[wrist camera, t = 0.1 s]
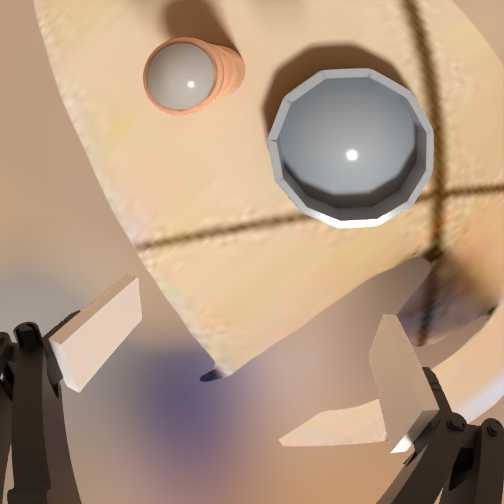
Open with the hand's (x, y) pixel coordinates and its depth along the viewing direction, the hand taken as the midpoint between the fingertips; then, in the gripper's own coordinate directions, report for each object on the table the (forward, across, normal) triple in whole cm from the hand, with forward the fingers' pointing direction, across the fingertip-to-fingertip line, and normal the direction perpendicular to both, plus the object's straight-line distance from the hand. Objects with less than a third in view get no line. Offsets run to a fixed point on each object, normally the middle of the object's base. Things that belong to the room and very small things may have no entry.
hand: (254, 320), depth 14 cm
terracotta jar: (+23, -10, +19) cm, 31 cm away
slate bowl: (+25, +8, +11) cm, 29 cm away
